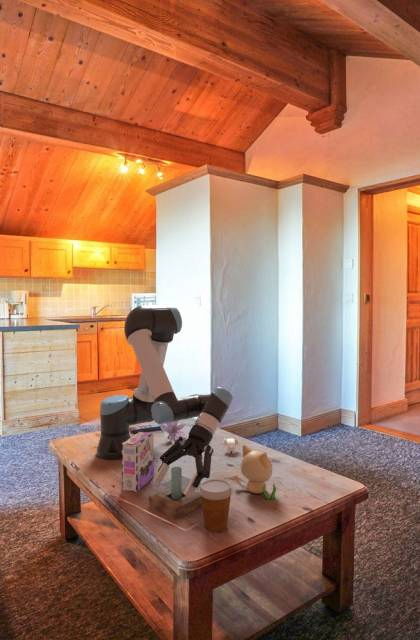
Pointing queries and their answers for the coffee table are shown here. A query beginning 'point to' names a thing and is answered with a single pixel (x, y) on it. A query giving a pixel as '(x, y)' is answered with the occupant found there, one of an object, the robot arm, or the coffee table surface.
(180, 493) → the peg
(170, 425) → the water lily
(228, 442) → the elephant figurine
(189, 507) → the hole block
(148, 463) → the candy box
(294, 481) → the coffee table surface
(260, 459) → the kitten
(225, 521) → the disposable coffee cup
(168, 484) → the mat
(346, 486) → the coffee table surface
